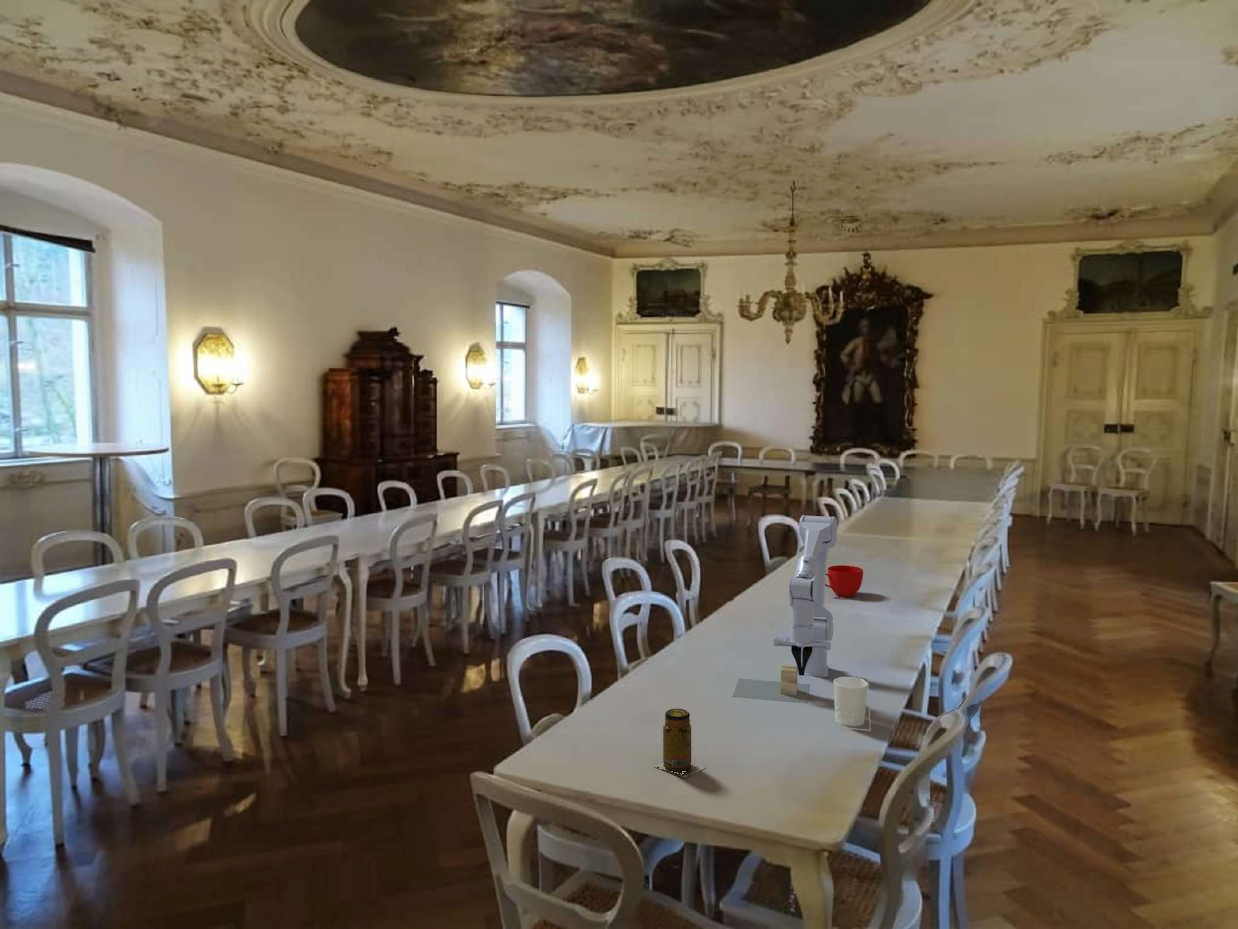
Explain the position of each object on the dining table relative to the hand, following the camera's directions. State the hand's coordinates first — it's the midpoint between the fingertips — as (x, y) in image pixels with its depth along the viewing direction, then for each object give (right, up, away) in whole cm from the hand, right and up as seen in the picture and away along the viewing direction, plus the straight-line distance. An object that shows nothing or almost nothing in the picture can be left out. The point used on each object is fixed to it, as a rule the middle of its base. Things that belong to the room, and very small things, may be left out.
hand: (801, 674), depth 230 cm
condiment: (-35, -10, -42) cm, 55 cm away
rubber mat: (-7, -5, +3) cm, 9 cm away
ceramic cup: (+36, +5, +102) cm, 109 cm away
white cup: (+8, -8, -18) cm, 21 cm away
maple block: (-3, -5, +1) cm, 6 cm away
